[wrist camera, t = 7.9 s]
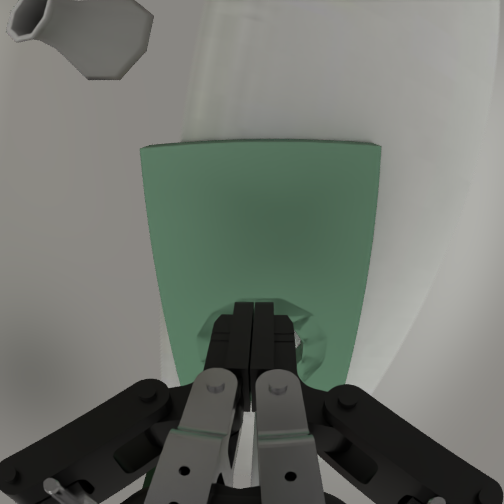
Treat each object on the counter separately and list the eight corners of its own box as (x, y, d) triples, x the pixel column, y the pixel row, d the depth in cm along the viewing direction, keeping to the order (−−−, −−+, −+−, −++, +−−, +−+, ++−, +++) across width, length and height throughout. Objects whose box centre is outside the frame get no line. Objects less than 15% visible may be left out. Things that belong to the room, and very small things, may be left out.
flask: (171, 10, 17) (112, -42, 8) (126, 94, 20) (43, 95, 11) (97, -10, 16) (21, -47, 7) (58, 68, 19) (-30, 66, 10)
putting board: (149, 145, 22) (-57, 246, 5) (372, 142, 21) (572, 245, 5) (187, 383, 32) (149, 537, 16) (338, 384, 31) (363, 543, 15)
